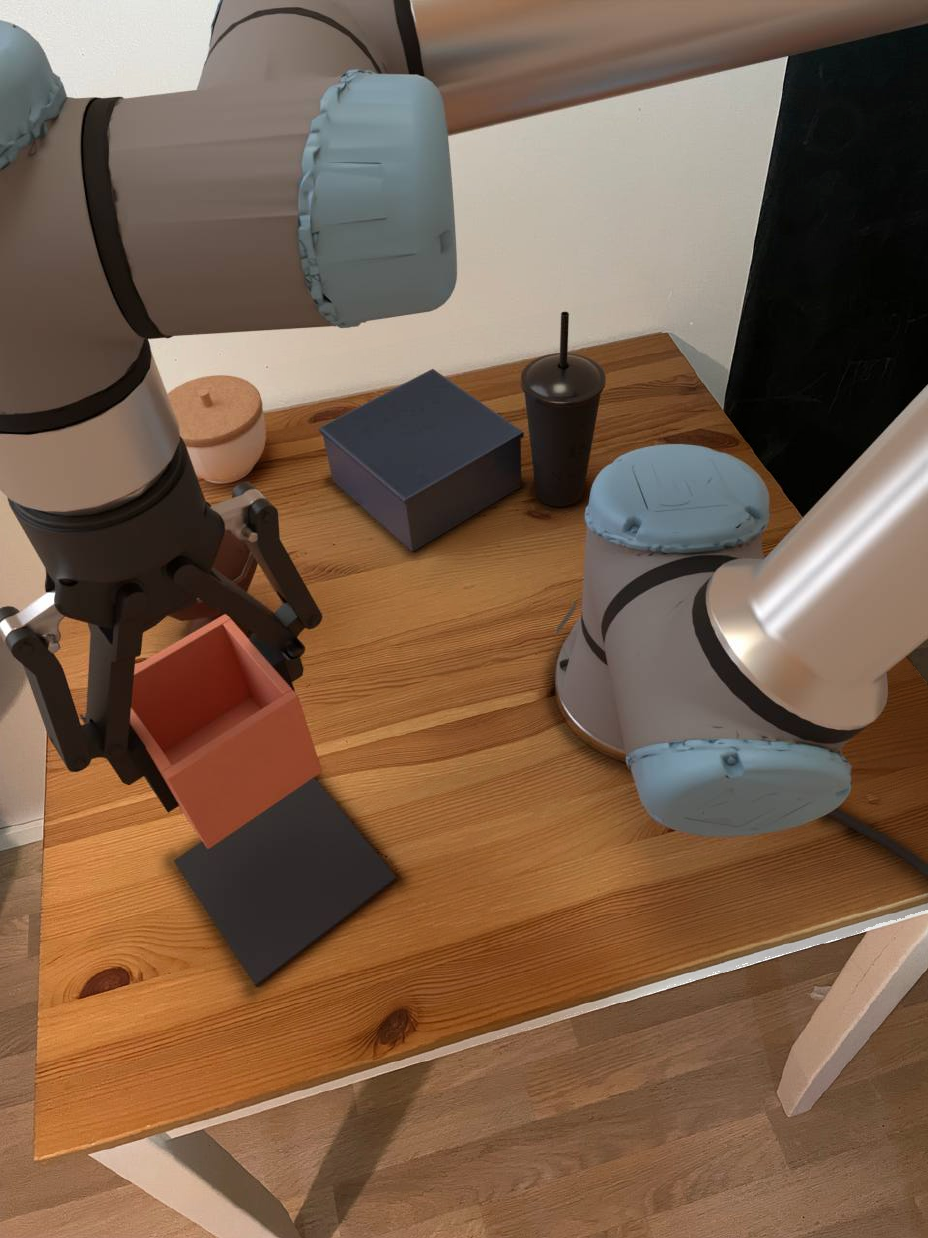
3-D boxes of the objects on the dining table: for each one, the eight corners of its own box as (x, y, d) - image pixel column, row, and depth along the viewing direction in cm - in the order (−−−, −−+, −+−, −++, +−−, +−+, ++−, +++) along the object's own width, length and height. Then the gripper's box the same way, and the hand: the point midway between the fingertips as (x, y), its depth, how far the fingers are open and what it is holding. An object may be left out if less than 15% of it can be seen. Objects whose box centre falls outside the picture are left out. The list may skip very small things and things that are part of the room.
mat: (397, 879, 68) (396, 877, 67) (256, 987, 63) (254, 985, 63) (308, 771, 74) (307, 769, 74) (175, 862, 69) (173, 860, 69)
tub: (322, 771, 57) (298, 695, 51) (208, 849, 54) (167, 779, 48) (256, 691, 61) (226, 612, 55) (146, 760, 58) (101, 684, 52)
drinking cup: (505, 491, 94) (501, 314, 78) (558, 456, 97) (563, 279, 82) (560, 528, 90) (566, 350, 75) (613, 490, 93) (629, 311, 78)
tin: (524, 486, 94) (523, 431, 89) (412, 554, 89) (404, 500, 84) (437, 422, 102) (432, 368, 97) (329, 481, 97) (318, 427, 91)
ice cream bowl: (304, 624, 84) (269, 502, 73) (203, 698, 79) (148, 579, 68) (235, 567, 89) (192, 445, 78) (136, 634, 84) (75, 513, 73)
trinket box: (286, 434, 102) (268, 361, 95) (263, 500, 95) (241, 427, 88) (193, 432, 103) (168, 360, 96) (163, 497, 96) (134, 425, 89)
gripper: (261, 327, 44) (335, 628, 62) (-190, 530, 37) (40, 810, 54) (349, 396, 40) (402, 697, 58) (-136, 641, 33) (94, 904, 50)
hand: (227, 751), depth 56 cm, fingers closed on tub, 8 cm apart
